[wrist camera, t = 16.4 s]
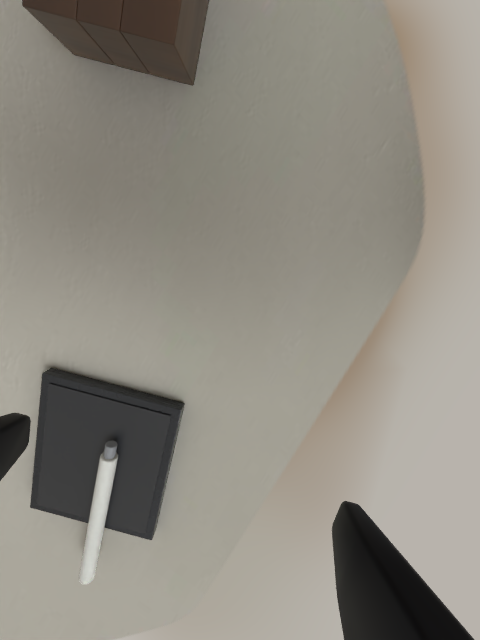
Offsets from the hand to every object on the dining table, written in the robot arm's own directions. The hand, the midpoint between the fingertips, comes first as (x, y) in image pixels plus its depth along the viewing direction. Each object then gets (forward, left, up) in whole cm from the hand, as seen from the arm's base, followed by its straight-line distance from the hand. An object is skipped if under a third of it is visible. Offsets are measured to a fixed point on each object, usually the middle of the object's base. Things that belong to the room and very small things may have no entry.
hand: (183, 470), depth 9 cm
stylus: (+6, +9, -11) cm, 16 cm away
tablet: (+7, +12, -13) cm, 19 cm away
